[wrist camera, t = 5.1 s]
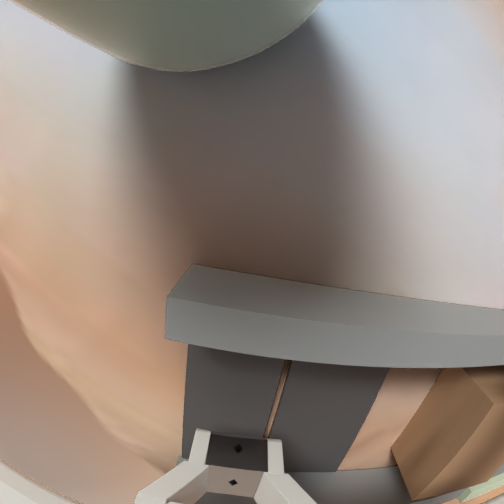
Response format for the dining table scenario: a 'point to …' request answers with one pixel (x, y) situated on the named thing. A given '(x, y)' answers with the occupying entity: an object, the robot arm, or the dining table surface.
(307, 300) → the box
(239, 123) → the dining table surface
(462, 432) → the block
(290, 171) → the dining table surface
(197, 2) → the cup
